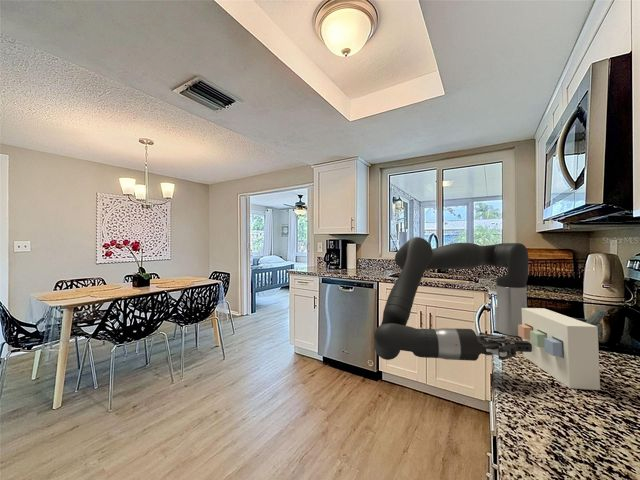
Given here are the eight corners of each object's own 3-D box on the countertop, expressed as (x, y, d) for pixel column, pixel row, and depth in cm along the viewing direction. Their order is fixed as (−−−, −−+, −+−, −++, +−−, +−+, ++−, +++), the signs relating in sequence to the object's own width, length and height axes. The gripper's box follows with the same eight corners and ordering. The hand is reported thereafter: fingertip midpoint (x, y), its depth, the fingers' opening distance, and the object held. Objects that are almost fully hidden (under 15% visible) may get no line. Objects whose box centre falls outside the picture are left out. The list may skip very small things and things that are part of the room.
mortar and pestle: (562, 342, 92) (560, 306, 93) (562, 335, 99) (561, 302, 100) (611, 350, 85) (609, 311, 85) (607, 342, 92) (606, 306, 92)
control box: (569, 388, 63) (567, 325, 64) (523, 355, 82) (521, 307, 82) (600, 390, 62) (597, 326, 63) (545, 356, 81) (544, 308, 81)
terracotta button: (524, 339, 77) (524, 327, 77) (518, 335, 81) (517, 324, 81) (532, 339, 77) (532, 327, 77) (526, 335, 80) (525, 324, 80)
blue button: (553, 356, 66) (552, 342, 66) (544, 351, 69) (544, 337, 69) (562, 356, 65) (562, 342, 65) (553, 351, 68) (553, 338, 68)
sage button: (537, 347, 71) (537, 334, 72) (530, 342, 75) (530, 330, 75) (546, 347, 71) (545, 334, 71) (538, 343, 74) (538, 330, 74)
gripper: (462, 337, 64) (546, 339, 61) (446, 321, 77) (515, 323, 74) (463, 370, 64) (548, 374, 61) (447, 349, 77) (516, 351, 74)
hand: (529, 346), depth 68 cm, fingers closed
